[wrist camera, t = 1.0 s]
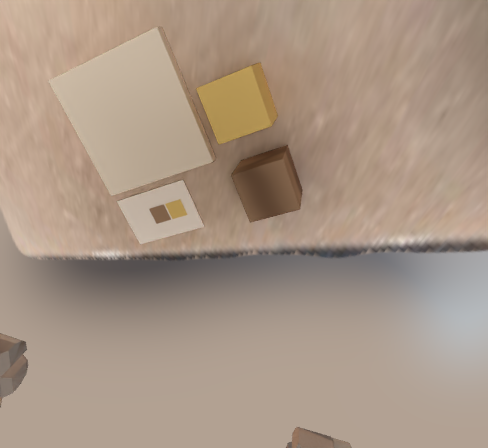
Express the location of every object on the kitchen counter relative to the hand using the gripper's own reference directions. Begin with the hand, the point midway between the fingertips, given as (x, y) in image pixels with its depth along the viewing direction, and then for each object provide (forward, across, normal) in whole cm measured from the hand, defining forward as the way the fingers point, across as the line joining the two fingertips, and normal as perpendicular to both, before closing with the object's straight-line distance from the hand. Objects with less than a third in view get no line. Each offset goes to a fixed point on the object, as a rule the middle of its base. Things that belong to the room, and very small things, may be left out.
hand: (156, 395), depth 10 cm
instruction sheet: (+29, +10, +11) cm, 33 cm away
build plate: (+29, +14, +1) cm, 32 cm away
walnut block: (+29, -1, +3) cm, 29 cm away
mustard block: (+29, +3, -4) cm, 30 cm away
